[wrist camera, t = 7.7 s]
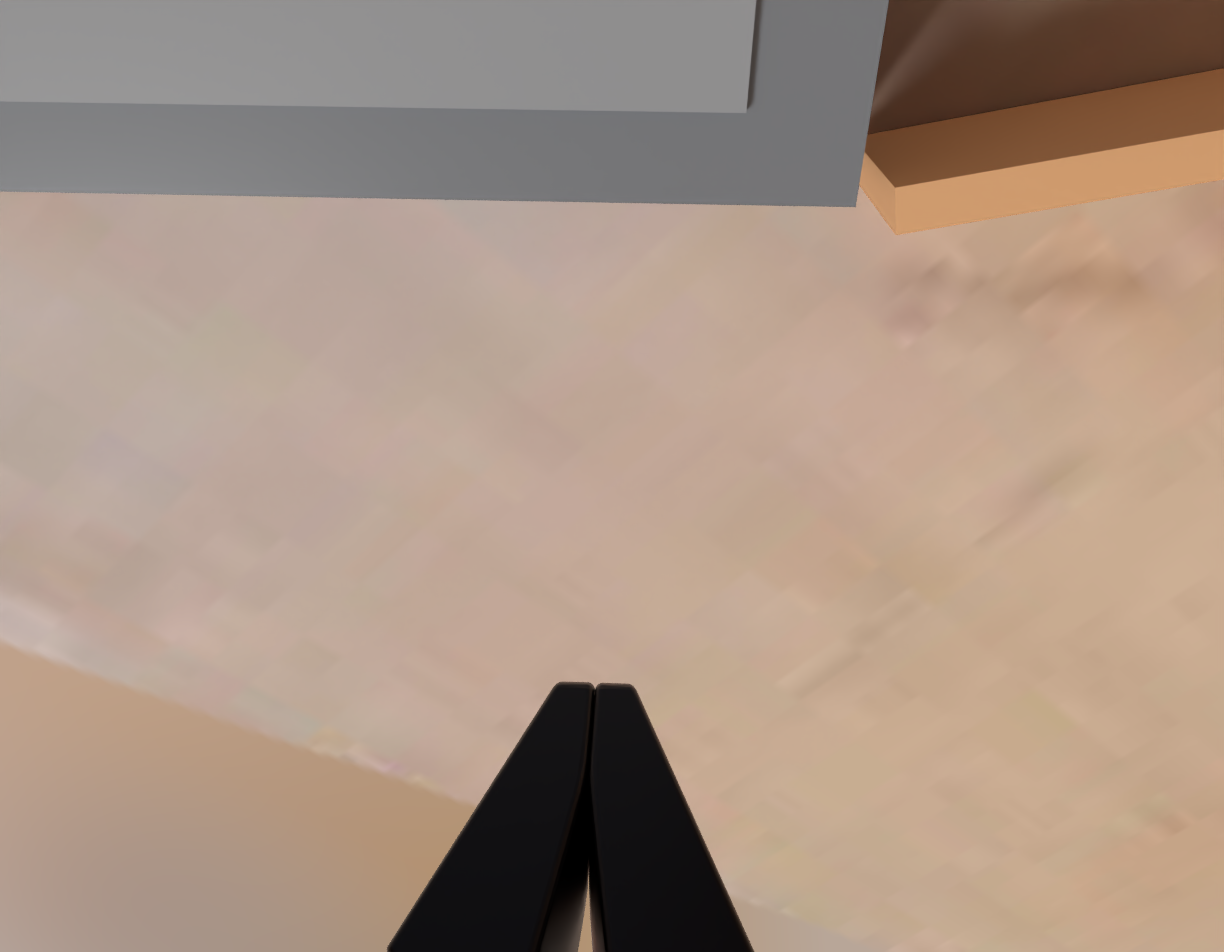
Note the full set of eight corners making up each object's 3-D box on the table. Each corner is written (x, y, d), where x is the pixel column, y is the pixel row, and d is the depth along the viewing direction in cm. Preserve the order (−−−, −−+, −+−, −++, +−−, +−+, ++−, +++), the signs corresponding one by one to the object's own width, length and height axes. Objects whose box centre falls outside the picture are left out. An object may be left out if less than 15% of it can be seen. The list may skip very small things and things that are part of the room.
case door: (852, 137, 17) (895, 187, 14) (1531, 10, 16) (1739, 37, 13) (854, 197, 18) (896, 257, 15) (1507, 82, 16) (1698, 123, 13)
